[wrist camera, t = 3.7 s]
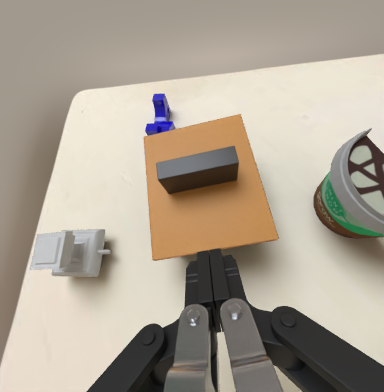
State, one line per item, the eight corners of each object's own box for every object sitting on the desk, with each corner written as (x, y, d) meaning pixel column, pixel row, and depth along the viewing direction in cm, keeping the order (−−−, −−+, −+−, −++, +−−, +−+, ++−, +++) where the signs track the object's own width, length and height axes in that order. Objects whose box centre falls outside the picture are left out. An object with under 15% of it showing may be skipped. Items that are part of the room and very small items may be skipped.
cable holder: (171, 145, 36) (165, 130, 32) (153, 145, 37) (145, 131, 33) (177, 110, 39) (172, 93, 35) (160, 110, 39) (153, 94, 36)
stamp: (120, 231, 32) (86, 219, 24) (115, 276, 30) (75, 278, 22) (70, 233, 33) (22, 222, 25) (61, 276, 31) (5, 278, 23)
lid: (145, 140, 27) (130, 115, 23) (240, 118, 26) (242, 87, 22) (154, 260, 21) (136, 258, 17) (277, 240, 20) (291, 231, 16)
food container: (286, 185, 30) (313, 148, 21) (324, 169, 30) (367, 124, 21) (340, 265, 25) (405, 262, 16) (384, 245, 25) (475, 232, 16)
